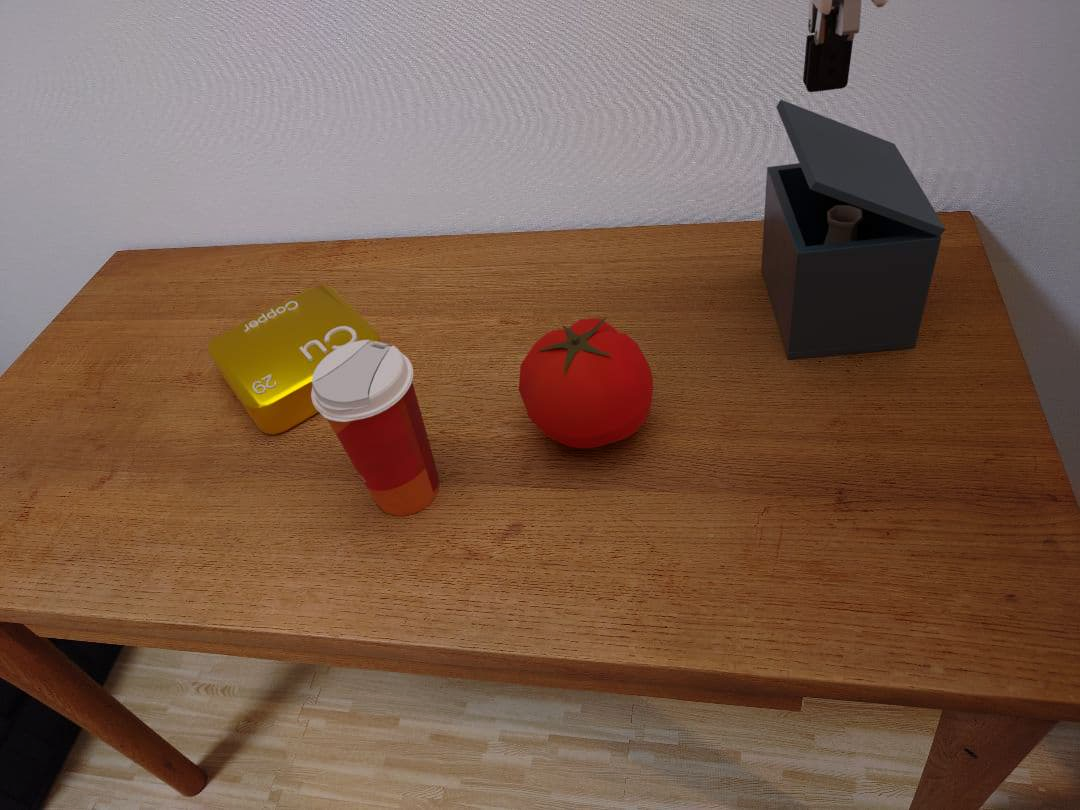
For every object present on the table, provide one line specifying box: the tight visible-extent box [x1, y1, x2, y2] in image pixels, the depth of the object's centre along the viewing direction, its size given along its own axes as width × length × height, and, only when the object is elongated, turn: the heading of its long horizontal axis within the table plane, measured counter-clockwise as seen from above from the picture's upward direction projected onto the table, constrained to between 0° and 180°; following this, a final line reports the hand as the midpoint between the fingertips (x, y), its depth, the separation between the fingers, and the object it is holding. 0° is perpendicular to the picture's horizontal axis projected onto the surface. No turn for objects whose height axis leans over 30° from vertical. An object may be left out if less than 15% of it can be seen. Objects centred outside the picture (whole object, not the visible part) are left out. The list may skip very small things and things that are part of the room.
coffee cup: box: [311, 340, 440, 517], centre depth 68 cm, size 8×8×15 cm
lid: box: [775, 99, 947, 236], centre depth 71 cm, size 13×15×1 cm
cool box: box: [760, 162, 942, 360], centre depth 77 cm, size 12×15×12 cm
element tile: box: [207, 284, 382, 436], centre depth 85 cm, size 15×15×5 cm
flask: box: [824, 205, 863, 244], centre depth 78 cm, size 7×7×10 cm
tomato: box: [518, 315, 654, 450], centre depth 71 cm, size 12×12×11 cm
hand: (824, 85), depth 66 cm, fingers closed
